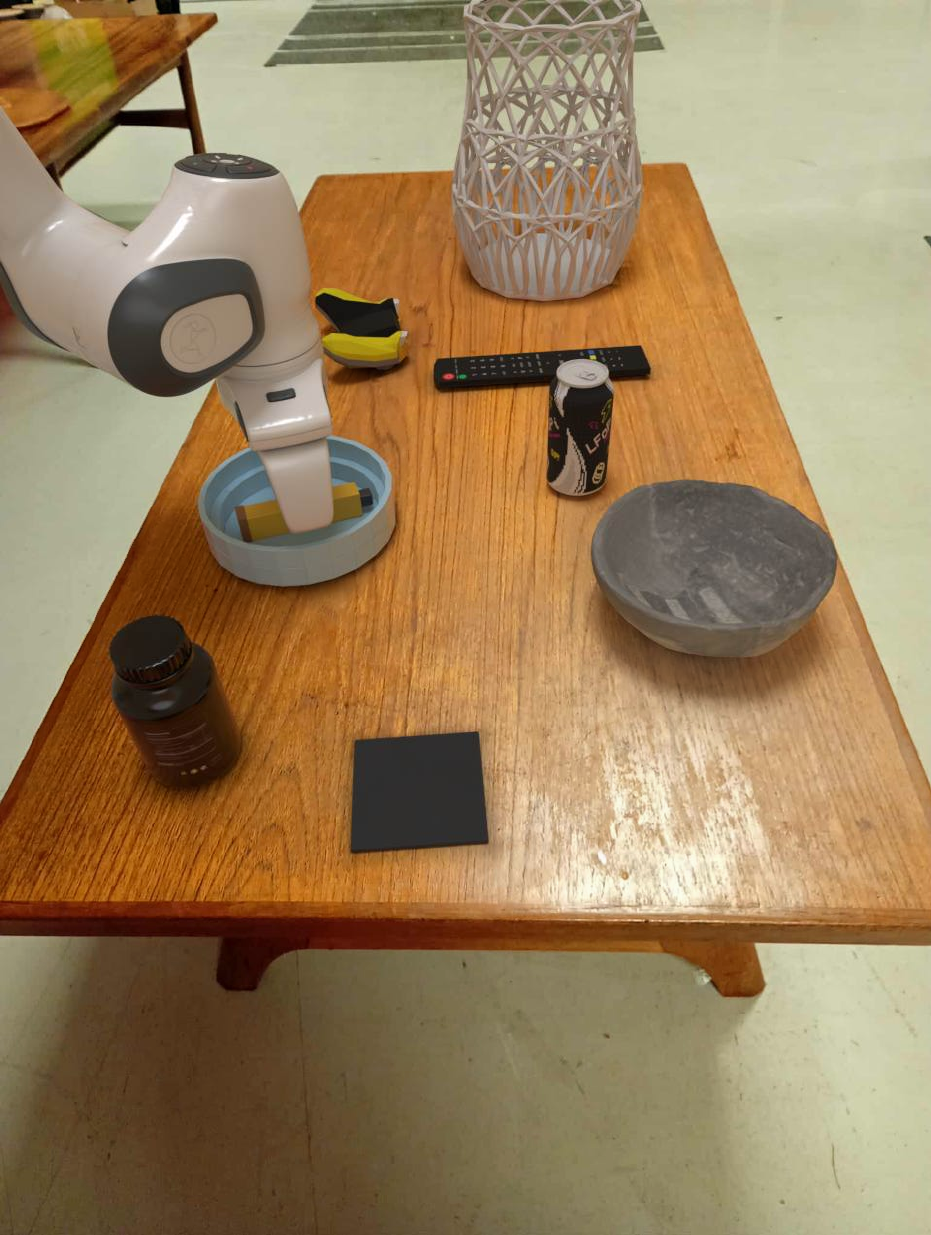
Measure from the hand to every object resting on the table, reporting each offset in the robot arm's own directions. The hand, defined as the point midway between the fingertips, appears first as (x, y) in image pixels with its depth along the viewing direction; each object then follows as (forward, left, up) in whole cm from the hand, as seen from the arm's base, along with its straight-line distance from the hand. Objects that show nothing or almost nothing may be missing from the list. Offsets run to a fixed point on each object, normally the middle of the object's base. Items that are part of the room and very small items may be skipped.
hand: (299, 509), depth 81 cm
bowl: (+33, -15, -2) cm, 36 cm away
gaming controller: (+5, +33, -2) cm, 33 cm away
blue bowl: (0, 0, -2) cm, 2 cm away
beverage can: (+26, +4, -2) cm, 26 cm away
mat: (+10, -30, -2) cm, 32 cm away
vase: (+29, +53, -2) cm, 60 cm away
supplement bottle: (-6, -25, -2) cm, 26 cm away
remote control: (+25, +25, -2) cm, 35 cm away
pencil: (0, 0, -2) cm, 2 cm away
